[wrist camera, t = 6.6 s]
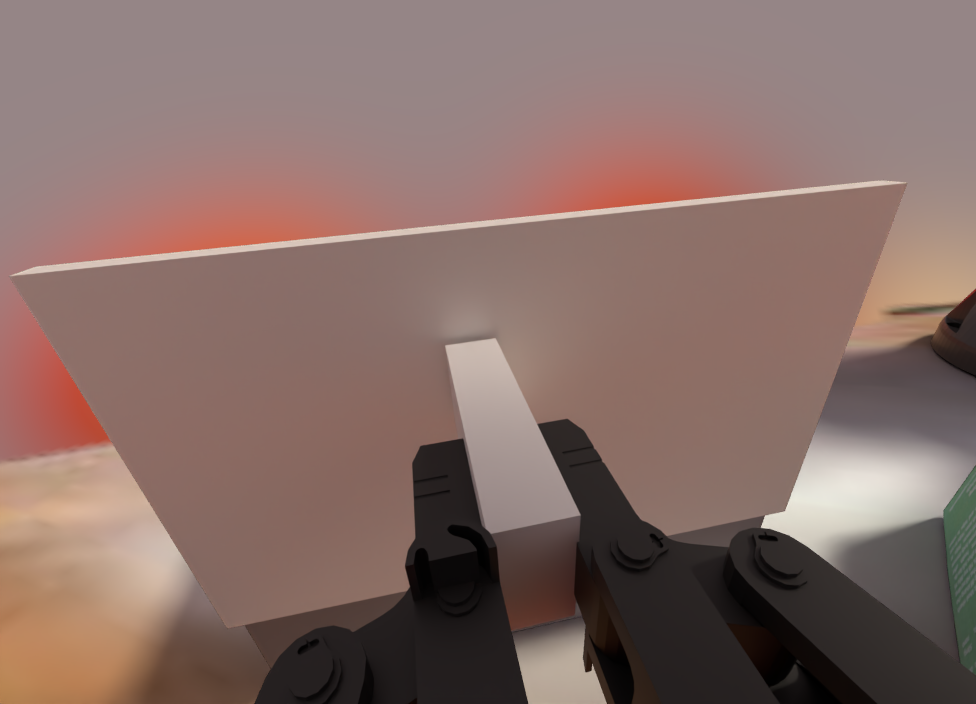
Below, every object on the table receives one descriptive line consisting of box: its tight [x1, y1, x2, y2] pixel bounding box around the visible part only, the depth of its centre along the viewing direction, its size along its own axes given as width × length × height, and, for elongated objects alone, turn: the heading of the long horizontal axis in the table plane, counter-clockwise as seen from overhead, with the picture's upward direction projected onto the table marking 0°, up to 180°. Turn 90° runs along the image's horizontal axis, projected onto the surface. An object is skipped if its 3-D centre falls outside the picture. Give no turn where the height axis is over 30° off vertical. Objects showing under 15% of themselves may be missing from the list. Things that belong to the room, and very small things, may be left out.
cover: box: [9, 181, 907, 629], centre depth 15 cm, size 24×14×1 cm
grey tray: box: [245, 515, 765, 668], centre depth 26 cm, size 24×14×6 cm, turn 100°
